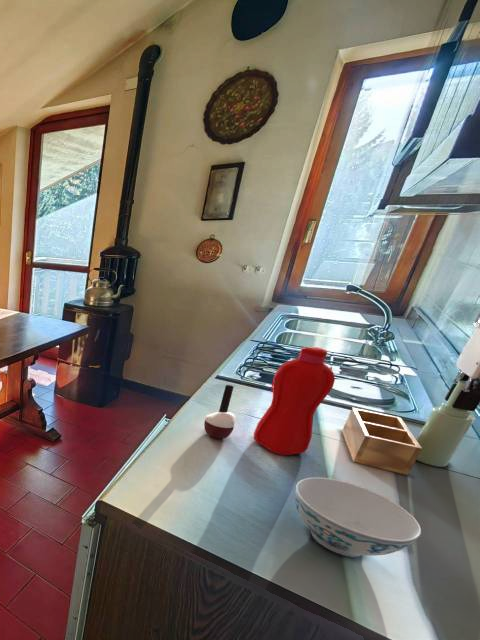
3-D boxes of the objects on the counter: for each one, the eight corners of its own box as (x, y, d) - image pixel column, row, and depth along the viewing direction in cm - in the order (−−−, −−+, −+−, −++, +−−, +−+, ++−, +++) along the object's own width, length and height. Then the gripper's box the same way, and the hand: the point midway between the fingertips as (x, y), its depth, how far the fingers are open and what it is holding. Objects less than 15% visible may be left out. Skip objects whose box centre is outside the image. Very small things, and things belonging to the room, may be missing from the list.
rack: (388, 441, 96) (401, 417, 94) (407, 475, 84) (422, 448, 81) (341, 431, 101) (352, 407, 98) (353, 461, 88) (365, 435, 86)
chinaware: (426, 575, 60) (451, 537, 57) (337, 581, 59) (357, 543, 56) (335, 508, 74) (351, 475, 71) (261, 512, 73) (274, 479, 70)
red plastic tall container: (270, 431, 101) (305, 338, 91) (312, 455, 91) (355, 353, 81) (239, 434, 99) (271, 340, 89) (278, 458, 89) (318, 356, 79)
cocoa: (219, 445, 94) (233, 401, 89) (194, 434, 99) (206, 391, 94) (239, 435, 99) (253, 392, 94) (214, 424, 104) (226, 383, 99)
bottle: (441, 457, 90) (486, 382, 83) (451, 470, 86) (499, 392, 78) (405, 448, 93) (445, 376, 86) (412, 460, 89) (455, 384, 81)
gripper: (561, 335, 68) (503, 426, 76) (515, 317, 81) (469, 396, 88) (496, 328, 72) (446, 415, 80) (461, 312, 85) (421, 388, 92)
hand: (459, 404), depth 84 cm, fingers closed on bottle, 3 cm apart
